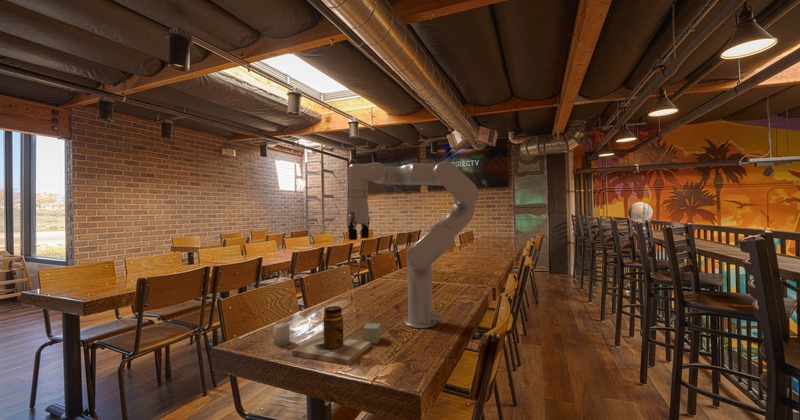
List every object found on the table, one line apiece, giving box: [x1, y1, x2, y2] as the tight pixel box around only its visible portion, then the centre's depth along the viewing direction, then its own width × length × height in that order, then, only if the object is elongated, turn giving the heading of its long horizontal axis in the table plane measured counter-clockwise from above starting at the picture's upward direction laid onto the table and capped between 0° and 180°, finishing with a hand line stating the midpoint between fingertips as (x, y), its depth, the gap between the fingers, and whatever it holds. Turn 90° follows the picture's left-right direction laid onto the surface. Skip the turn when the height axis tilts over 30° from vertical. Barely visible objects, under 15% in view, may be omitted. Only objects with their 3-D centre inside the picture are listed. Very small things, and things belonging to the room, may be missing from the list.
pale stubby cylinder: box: [273, 322, 291, 347], centre depth 112 cm, size 5×5×6 cm
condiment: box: [314, 305, 348, 353], centre depth 104 cm, size 7×8×12 cm
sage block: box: [362, 322, 382, 344], centre depth 113 cm, size 5×5×5 cm
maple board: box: [291, 334, 372, 365], centre depth 105 cm, size 20×14×2 cm
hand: (359, 238), depth 131 cm, fingers open, 9 cm apart
